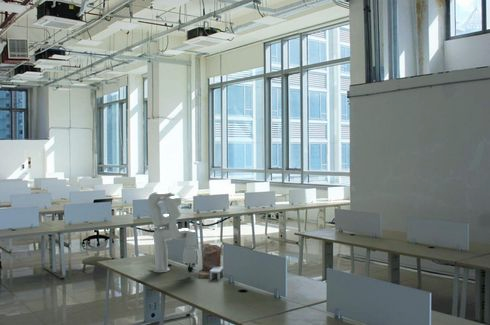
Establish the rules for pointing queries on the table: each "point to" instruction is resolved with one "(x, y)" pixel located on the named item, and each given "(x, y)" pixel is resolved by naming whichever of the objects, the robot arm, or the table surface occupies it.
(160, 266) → the robot arm
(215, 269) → the bridge
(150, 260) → the table surface
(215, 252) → the stone
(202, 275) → the panel
